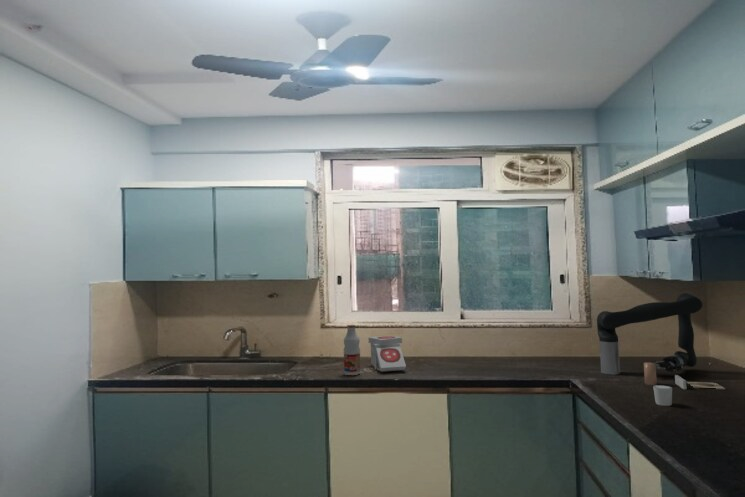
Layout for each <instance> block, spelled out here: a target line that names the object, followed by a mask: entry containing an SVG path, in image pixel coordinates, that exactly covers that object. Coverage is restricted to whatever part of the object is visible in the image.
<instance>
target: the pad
mask: <svg viewBox="0 0 745 497" xmlns="http://www.w3.org/2000/svg"><path fill="white" fill-rule="evenodd" d="M686 384H688V385H689V384H690V385H689V386H691V387H692V386H693V388H694V389H699V388H716V389H715V390H726V387H724V386H722V385H720V384H718V383H716V382H715V383H714V382H712V381H710V382H709V381H707V382H706V381H686Z"/></svg>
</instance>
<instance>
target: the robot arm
mask: <svg viewBox="0 0 745 497" xmlns="http://www.w3.org/2000/svg"><path fill="white" fill-rule="evenodd" d="M702 308H703V302H702V300H701V299H700V298H699V297H697V296H695V295H693V294H690V293H688V292H684V293H681V294H679V295H678V296H677V297H676V300H675V301H672V302H668V301H667V302H664V301H661V302H660V301H656V302H655V301H654V302H647V303H643V304H638V305H636V306H634V307H631V308H628V309H626V310H621V311H607V310H604V311H601V312H599V313H598V315H597V317H596V325H597V326H596V327H597V335H598V340H599V355H600V356H599V357H600V372H601V374H604V375H611V376H612V375H613V376H614V375H615V376H616V375H620V374H621V368H620V367H621V366H620V349H619V347H620V346H619V336H618V334H617V332H616V329H617V328H620V327H624V326H626V325H630V324H637V323H638V324H640V323H646V322H651V321H655V320H659V319H664V318H668V317H674V316H677V320H678V340H677V341H678V342H677V345H678V347H679V348H680V349H682V350H684V351H681V350H677V351H674V354H673V355H668V356H667V357H664V358H662V360H661V361H657V360H651V361H650V362H651V363H655V364H656V369H661V370H665V371H667V372H671V373H672V372H675V371H678V372H679V371H682V370H684V367H689V368H693V367H695V366H696V365H697V361H698V359H697V356H696V352H695V348H694V345H695V344H694V341H695V333H694V328H693V324H692V320H691V319H692V318H691V317H692V316H691V314H696V313H698V312H699V311H701V309H702Z"/></svg>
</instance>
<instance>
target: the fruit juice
mask: <svg viewBox="0 0 745 497" xmlns="http://www.w3.org/2000/svg"><path fill="white" fill-rule="evenodd" d="M346 328H347V332H346V334H345V336H344V338H343V345H344V346H343V370H344V371H343V373H344V372H345V373H359V372H360V371H361V347H360V337H359V336H358V335H357V332H356V325H355V324H348V325H346Z"/></svg>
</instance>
